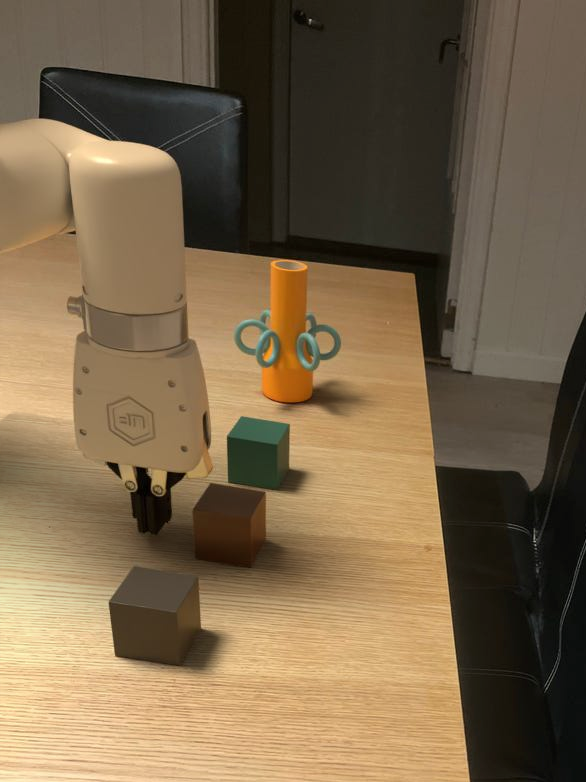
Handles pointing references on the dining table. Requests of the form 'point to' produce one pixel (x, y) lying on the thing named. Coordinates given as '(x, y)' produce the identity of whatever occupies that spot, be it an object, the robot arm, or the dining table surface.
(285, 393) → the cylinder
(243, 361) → the dining table surface
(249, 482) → the teal block
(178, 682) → the dining table surface
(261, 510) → the walnut block
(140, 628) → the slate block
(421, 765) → the dining table surface
